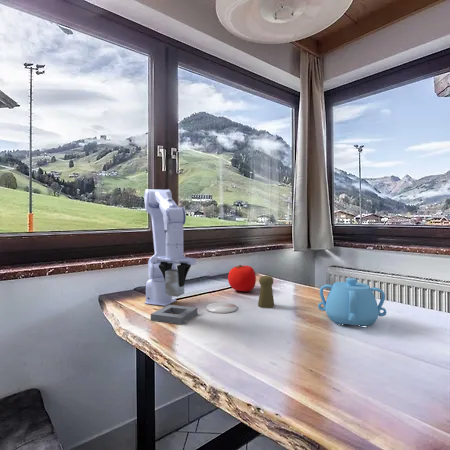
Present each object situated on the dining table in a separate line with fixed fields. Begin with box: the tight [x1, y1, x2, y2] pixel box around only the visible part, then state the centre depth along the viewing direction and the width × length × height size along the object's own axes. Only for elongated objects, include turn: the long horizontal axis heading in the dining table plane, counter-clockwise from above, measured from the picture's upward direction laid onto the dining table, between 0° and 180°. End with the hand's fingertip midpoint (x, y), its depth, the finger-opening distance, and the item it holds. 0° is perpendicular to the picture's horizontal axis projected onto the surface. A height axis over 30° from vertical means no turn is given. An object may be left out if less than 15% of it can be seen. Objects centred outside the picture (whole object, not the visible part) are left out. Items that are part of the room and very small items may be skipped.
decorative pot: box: [317, 277, 387, 326], centre depth 100 cm, size 16×16×14 cm
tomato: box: [227, 264, 257, 292], centre depth 139 cm, size 12×14×11 cm
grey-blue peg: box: [165, 268, 185, 298], centre depth 105 cm, size 4×4×8 cm
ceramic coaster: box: [205, 302, 238, 314], centre depth 114 cm, size 11×11×1 cm
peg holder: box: [150, 304, 198, 325], centre depth 105 cm, size 11×11×2 cm
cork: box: [257, 275, 275, 309], centre depth 117 cm, size 6×6×11 cm
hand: (174, 285), depth 105 cm, fingers closed on grey-blue peg, 4 cm apart
